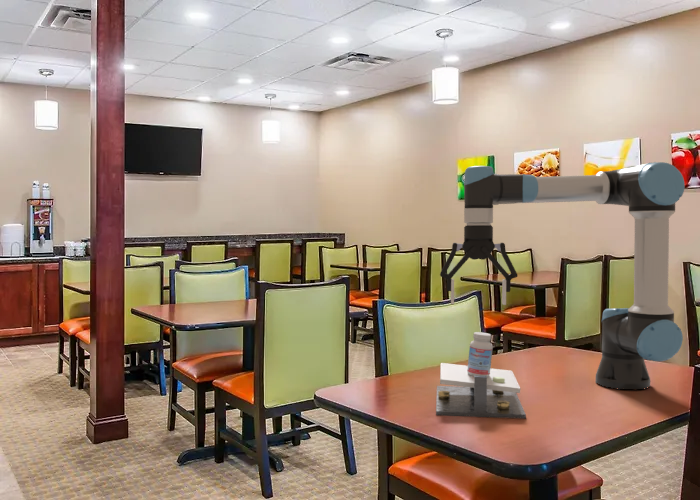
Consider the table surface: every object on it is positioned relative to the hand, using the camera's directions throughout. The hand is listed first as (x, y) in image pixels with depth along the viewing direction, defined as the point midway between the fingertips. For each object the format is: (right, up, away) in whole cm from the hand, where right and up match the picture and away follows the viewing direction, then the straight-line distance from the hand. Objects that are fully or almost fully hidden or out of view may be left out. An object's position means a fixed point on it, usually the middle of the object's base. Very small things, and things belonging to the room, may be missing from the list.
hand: (478, 304), depth 172 cm
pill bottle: (0, -19, 0) cm, 19 cm away
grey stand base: (0, -27, +1) cm, 27 cm away
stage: (0, -20, +1) cm, 20 cm away
